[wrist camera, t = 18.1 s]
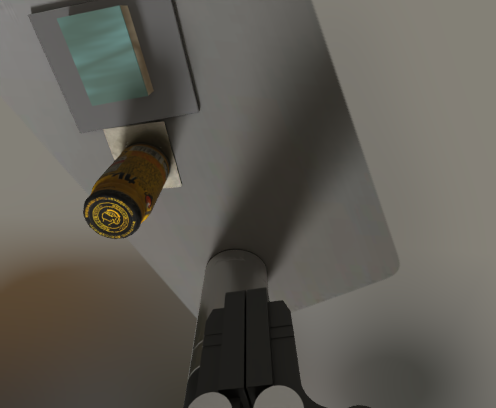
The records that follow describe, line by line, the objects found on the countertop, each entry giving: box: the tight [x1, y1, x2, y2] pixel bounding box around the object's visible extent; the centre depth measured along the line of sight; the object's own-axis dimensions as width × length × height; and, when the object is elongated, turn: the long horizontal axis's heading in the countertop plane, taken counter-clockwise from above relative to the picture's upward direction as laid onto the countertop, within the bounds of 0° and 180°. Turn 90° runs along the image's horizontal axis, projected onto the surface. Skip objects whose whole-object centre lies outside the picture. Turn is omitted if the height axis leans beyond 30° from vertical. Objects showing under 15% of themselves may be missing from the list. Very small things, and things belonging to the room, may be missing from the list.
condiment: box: [83, 121, 182, 239], centre depth 35 cm, size 7×8×12 cm
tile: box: [57, 5, 154, 106], centre depth 33 cm, size 2×6×8 cm
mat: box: [28, 0, 199, 133], centre depth 35 cm, size 12×14×1 cm
